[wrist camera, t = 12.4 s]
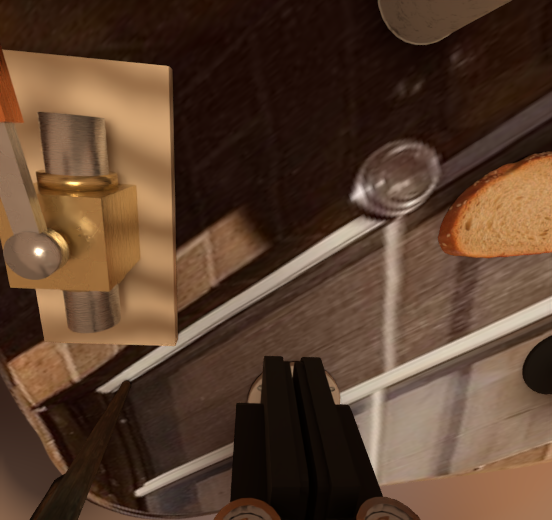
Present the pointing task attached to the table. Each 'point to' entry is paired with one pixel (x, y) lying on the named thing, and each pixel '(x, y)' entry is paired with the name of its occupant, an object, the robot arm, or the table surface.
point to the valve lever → (23, 198)
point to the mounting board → (130, 169)
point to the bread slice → (503, 212)
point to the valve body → (83, 220)
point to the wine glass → (539, 367)
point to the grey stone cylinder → (432, 17)
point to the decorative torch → (81, 468)
